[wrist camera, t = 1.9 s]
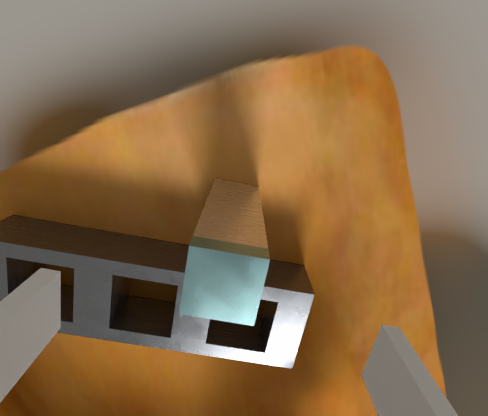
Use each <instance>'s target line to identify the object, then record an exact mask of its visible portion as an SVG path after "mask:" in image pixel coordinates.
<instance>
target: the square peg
mask: <svg viewBox="0 0 488 416" xmlns="http://www.w3.org/2000/svg"><path fill="white" fill-rule="evenodd" d="M269 262H270V255H269V249H268V243H267V236H266V230H265V224H264V217H263V211H262V204H261V198H260V192H259V186H253V185H248V184H243V183H237V182H232V181H227V180H221V179H216V178H215V180H214V182H213V185H212V187H211V190H210V193H209V195H208V198H207V200H206V203H205V206H204V208H203V211H202V213H201V216H200V219H199V221H198V224H197V226H196V229H195V232H194V234H193V237H192V239H191V242H190V245H189V250H188V256H187V263H186V270H185V276H184V283H183V290H182V297H181V303H180V310H179V314H181V315H188V316H194V317H200V318H206V319H213V320H219V321H225V322H231V323H237V324H244V325H250V326H254V324H255V320H256V316H257V312H258V308H259V304H260V300H261V295H262V291H263V287H264V283H265V279H266V275H267V271H268V266H269Z"/></svg>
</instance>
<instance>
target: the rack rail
mask: <svg viewBox="0 0 488 416" xmlns="http://www.w3.org/2000/svg"><path fill="white" fill-rule="evenodd" d="M188 250H189V245H183V244H178V243H172V242H166V241H160V240H155V239H149V238H143V237H137V236H132V235H126V234H120V233H114V232H109V231H103V230H97V229H91V228H85V227H80V226H74V225H68V224H62V223H57V222H51V221H45V220H39V219H34V218H28V217H22V216H16V215H12V216H9V217H7V218H5V219H3V220H1V221H0V301H2V300H3V299H4V298H5V297H6V296H8V295H9V294H10V293H11V292H12V291H14V290H15V289H16V288H17V287H18V286H20V285H21V284H22V283H23V282H24V281H26V280H27V279H28V278H29V277H30V276H32V275H33V274H34V273H35V272H36V271H38V270H39V269H40V268H44V264H50V265H56V266H62V267H68V268H74V286H69V285H63V284H61V328H60V329H59V330H58V332H57V333H64V334H70V335H77V336H83V337H90V338H96V339H103V340H109V341H115V342H122V343H128V344H135V345H141V346H148V347H154V348H161V349H167V350H174V351H180V352H187V353H193V354H200V355H206V356H213V357H219V358H226V359H232V360H239V361H245V362H252V363H258V364H265V365H271V366H278V367H284V368H291V369H292V367H293V364H294V361H295V358H296V354H297V351H298V348H299V344H300V341H301V338H302V335H303V331H304V328H305V325H306V321H307V318H308V315H309V311H310V308H311V305H312V302H313V298H314V292H313V289H312V286H311V283H310V281H309V278H308V275H307V272H306V269H305V266H304V265H299V264H293V263H287V262H282V261H276V260H270V262H269V266H268V271H267V275H266V279H265V283H264V287H263V291H262V295H261V300H266V304H265V308H264V312H263V316H262V317H259V316H256V320H255V324H254V326H250V325H244V324H237V323H231V322H225V321H219V320H213V319H206V318H200V317H194V316H188V315H181V314H179V310H180V303H181V297H182V290H183V283H184V276H185V270H186V263H187V256H188ZM130 278H135V279H141V280H147V281H153V282H159V283H165V284H171V285H177V286H178V290H177V297H176V303H173V302H167V301H161V300H155V299H149V298H143V297H136V296H130V295H129V287H130Z"/></svg>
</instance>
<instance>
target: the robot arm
mask: <svg viewBox="0 0 488 416" xmlns="http://www.w3.org/2000/svg"><path fill="white" fill-rule="evenodd" d="M60 328H61V271H56V270H50V269H44V268H40V269H39V270H38V271H36V272H35V273H34V274H33V275H32V276H30V277H29V278H28V279H27V280H26V281H24V282H23V283H22V284H21V285H20V286H18V287H17V288H16V289H15V290H14V291H12V292H11V293H10V294H9V295H8V296H6V297H5V298H4V299H3V300H2V301H0V403H1V401H2V400H3V399H4V398H5V396H6V395H7V394H8V393H9V391H10V390H11V389H12V388H13V386H14V385H15V384H16V383H17V381H18V380H19V379H20V378H21V376H22V375H23V374H24V373H25V371H26V370H27V369H28V368H29V367H30V365H31V364H32V363H33V362H34V360H35V359H36V358H37V357H38V355H39V354H40V353H41V352H42V350H43V349H44V348H45V347H46V345H47V344H48V343H49V342H50V340H51V339H52V338H53V337H54V335H55V334H56V333H57V332H58V330H59V329H60ZM362 377H363V380H364V382H365V385H366V387H367V390H368V392H369V394H370V397H371V399H372V402H373V404H374V407H375V409H376V411H377V414H378V416H458V415H457V414H456V412H455V411H454V409H453V408H452V406H451V404H450V403H449V401H448V400H447V398H446V397H445V395H444V394H443V392H442V391H441V389H440V388H439V386H438V385H437V383H436V382H435V380H434V379H433V377H432V376H431V374H430V373H429V371H428V370H427V368H426V367H425V365H424V364H423V362H422V361H421V359H420V358H419V356H418V355H417V353H416V352H415V350H414V349H413V347H412V346H411V344H410V343H409V341H408V340H407V338H406V336H405V335H404V333H403V332H402V330H401V329H400V328H399V327H393V326H387V325H382V326H381V328H380V331H379V333H378V336H377V338H376V341H375V343H374V346H373V348H372V350H371V353H370V355H369V358H368V360H367V363H366V365H365V368H364V370H363V373H362Z"/></svg>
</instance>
